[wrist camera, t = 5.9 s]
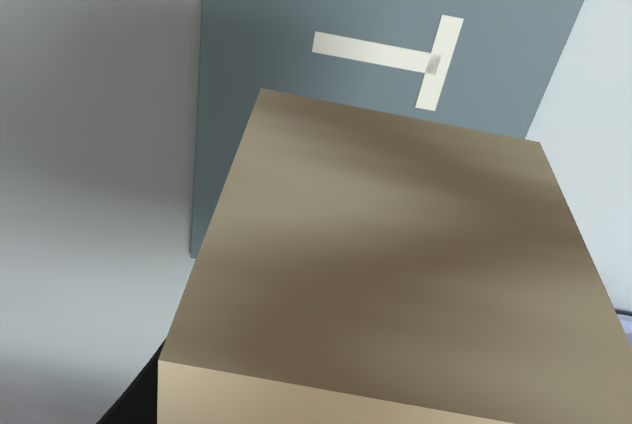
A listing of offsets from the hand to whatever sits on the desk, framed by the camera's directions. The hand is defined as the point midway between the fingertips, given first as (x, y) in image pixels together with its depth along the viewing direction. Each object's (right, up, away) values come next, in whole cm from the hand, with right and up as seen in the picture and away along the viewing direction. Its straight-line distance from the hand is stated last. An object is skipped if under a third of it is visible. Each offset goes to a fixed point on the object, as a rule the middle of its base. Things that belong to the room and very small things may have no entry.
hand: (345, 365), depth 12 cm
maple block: (0, +1, +1) cm, 2 cm away
